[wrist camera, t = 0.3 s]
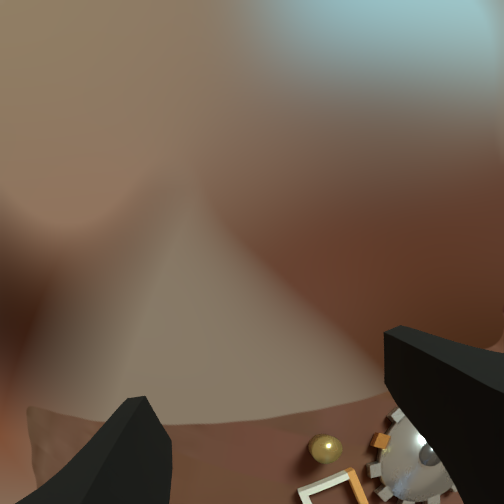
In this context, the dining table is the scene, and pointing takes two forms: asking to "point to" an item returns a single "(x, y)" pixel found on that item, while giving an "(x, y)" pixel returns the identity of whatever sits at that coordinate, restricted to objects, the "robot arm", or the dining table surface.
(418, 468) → the sprocket
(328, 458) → the brass pin
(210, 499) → the dining table surface
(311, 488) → the square open frame
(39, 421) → the dining table surface
